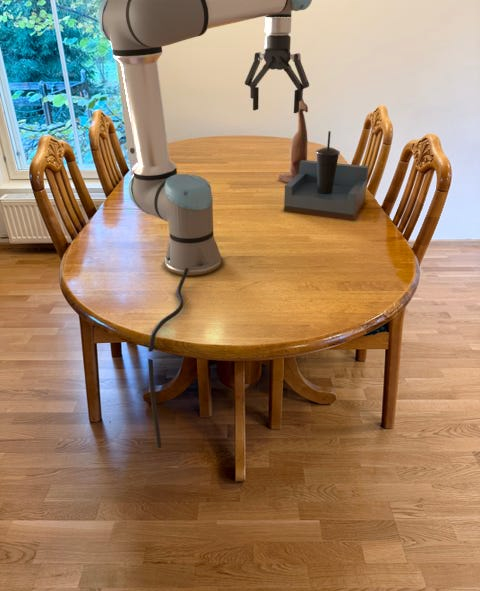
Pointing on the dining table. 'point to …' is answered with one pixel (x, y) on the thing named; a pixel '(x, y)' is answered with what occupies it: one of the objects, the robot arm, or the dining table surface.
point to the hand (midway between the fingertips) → (275, 111)
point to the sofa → (334, 205)
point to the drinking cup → (326, 167)
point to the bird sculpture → (297, 146)
